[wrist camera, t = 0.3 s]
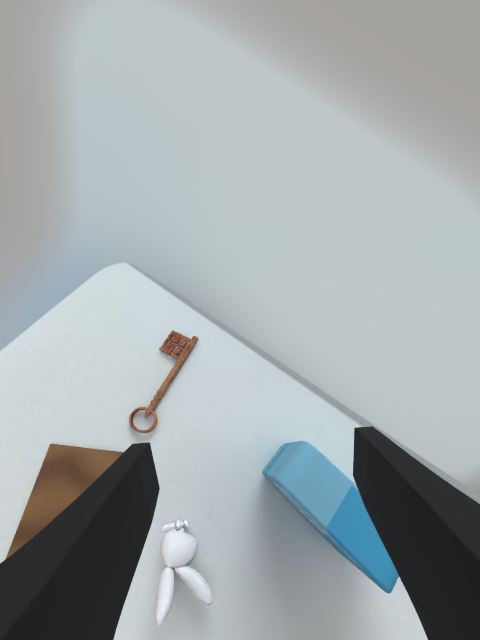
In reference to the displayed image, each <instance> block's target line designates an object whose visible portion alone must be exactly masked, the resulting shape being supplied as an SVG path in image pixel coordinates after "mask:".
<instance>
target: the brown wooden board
mask: <svg viewBox="0 0 480 640" xmlns="http://www.w3.org/2000/svg"><path fill="white" fill-rule="evenodd" d="M122 454H123V453H122V452H114V451H106V450H98V449H90V448H82V447H73V446H65V445H57V444H50V446H49V449H48V452H47V454H46V457H45V459H44V462H43V464H42V467H41V470H40V472H39V475H38V477H37V480H36V483H35V485H34V488H33V490H32V493H31V495H30V498H29V501H28V503H27V506H26V508H25V511H24V513H23V516H22V519H21V521H20V524H19V526H18V529H17V531H16V534H15V537H14V539H13V542H12V544H11V547H10V549H9V552H8V555H7V557H6V559H7V558H8V557H9V556H11V555H12V554H13V553H14V552H16V551H17V550H18V549H19V548H21V547H22V546H23V545H24V544H26V543H27V542H28V541H29V540H30V539H32V538H33V537H34V536H35V535H36V534H37V533H39V532H40V531H41V530H42V529H43V528H44V527H46V526H47V525H48V524H49V523H50V522H51V521H52V520H53V519H54V518H56V517H57V516H58V515H59V514H60V513H61V512H62V511H63V510H64V509H65V508H67V507H68V506H69V505H70V504H71V503H72V502H73V501H74V500H75V499H76V498H78V497H79V496H80V495H81V494H82V493H83V492H84V491H85V490H86V489H87V488H88V487H89V486H90V485H91V484H92V483H93V482H94V481H95V480H96V479H97V478H98V477H99V476H100V475H101V474H102V473H103V472H104V471H105V470H107V469H108V468H109V467H110V466H111V465H112V464H113V463H114V462H115V461H116V460H117V459H118V458H119V457H120V456H121V455H122Z"/></svg>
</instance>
